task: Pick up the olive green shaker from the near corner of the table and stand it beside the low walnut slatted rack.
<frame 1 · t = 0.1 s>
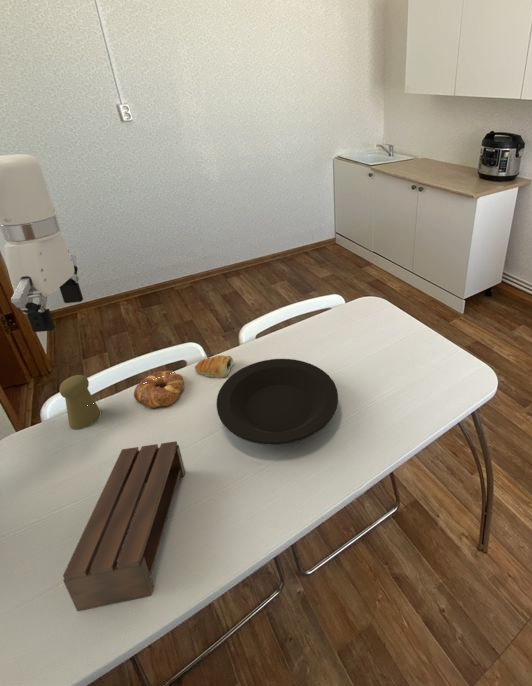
hand: (60, 315, 71), 31 cm above the table, tool pointing down, fingers open, 9 cm apart
rack: (139, 530, 65), on the table
plate: (279, 414, 88), on the table
pastry: (216, 371, 102), on the table
ring bread: (161, 394, 95), on the table
olive green shaker: (85, 419, 88), on the table
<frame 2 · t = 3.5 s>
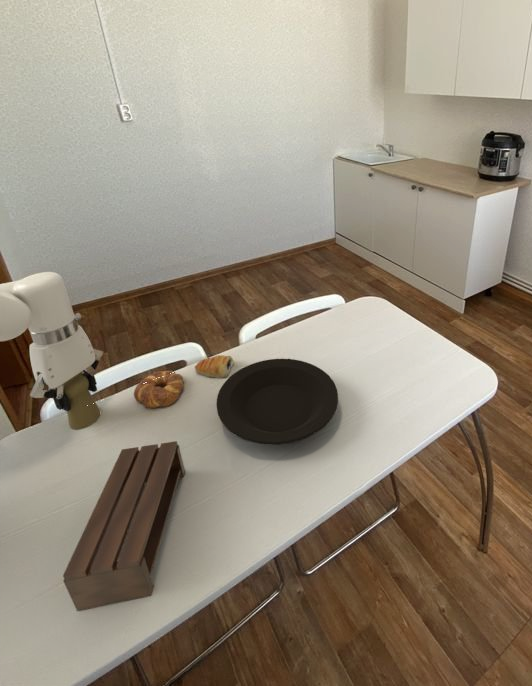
hand: (78, 398, 85), 6 cm above the table, tool pointing down, fingers closed on olive green shaker, 5 cm apart
olive green shaker: (85, 419, 88), on the table, touching gripper
everything else where it was.
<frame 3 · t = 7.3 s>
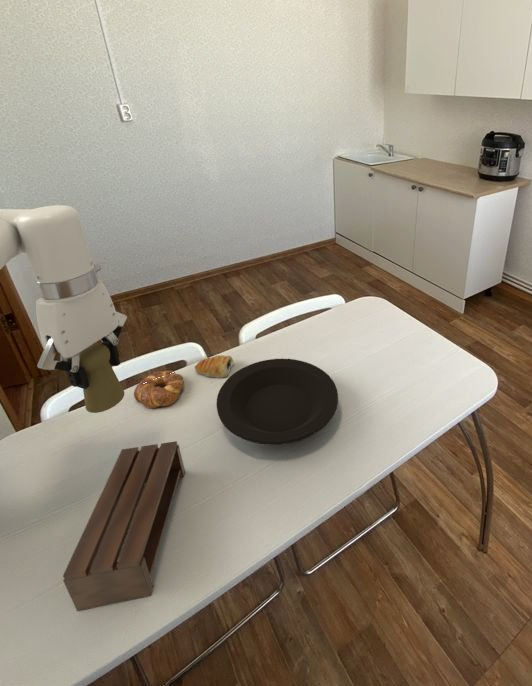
hand: (97, 373, 67), 23 cm above the table, tool pointing down, fingers closed on olive green shaker, 5 cm apart
olive green shaker: (105, 400, 69), point 17 cm above the table, touching gripper
everything else where it was.
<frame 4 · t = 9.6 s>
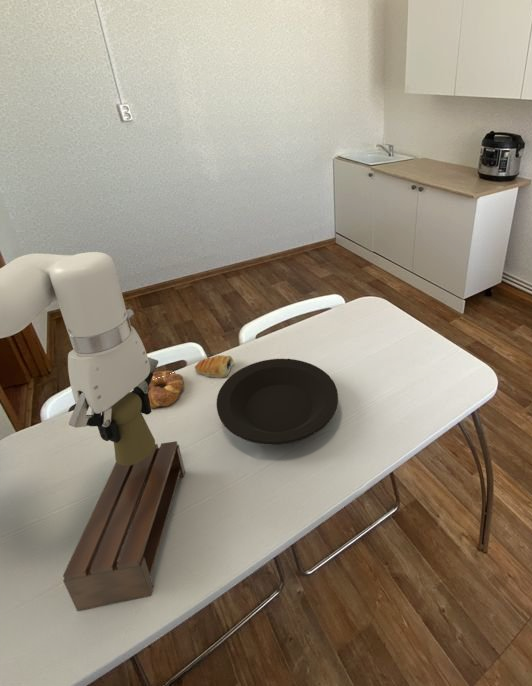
hand: (128, 424, 64), 18 cm above the table, tool pointing down, fingers closed on olive green shaker, 5 cm apart
olive green shaker: (136, 450, 66), point 12 cm above the table, touching gripper
everything else where it was.
when the fingers open (14 cm above the table, at t = 11.2 s): olive green shaker stays where it is, resting on rack.
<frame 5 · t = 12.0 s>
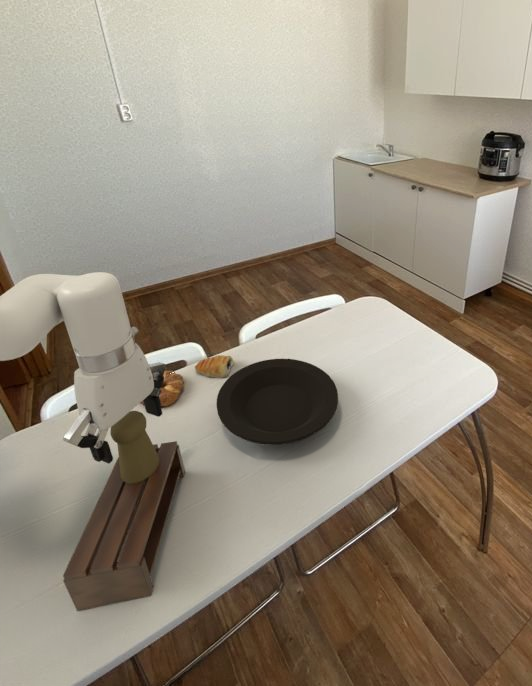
hand: (131, 435, 65), 15 cm above the table, tool pointing down, fingers open, 9 cm apart
olive green shaker: (140, 467, 67), point 8 cm above the table, touching rack
everything else where it was.
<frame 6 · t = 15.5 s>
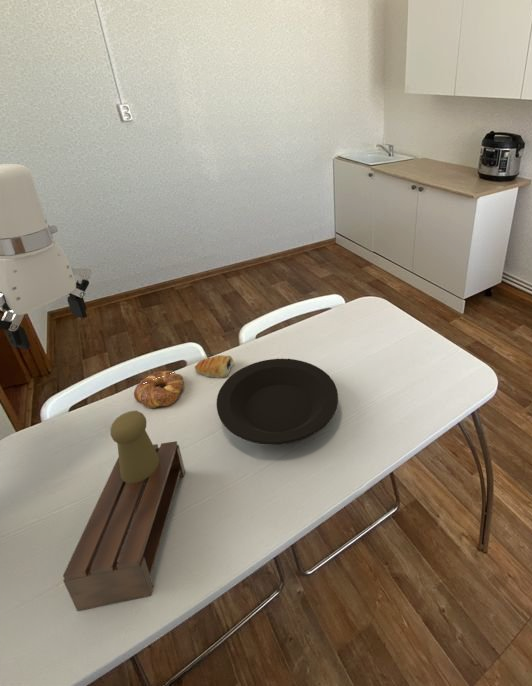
hand: (53, 330, 68), 30 cm above the table, tool pointing down, fingers open, 9 cm apart
nothing on the table moved.
at the end: olive green shaker inside the target area on the rack (0.1 cm from its centre), point 7.8 cm above the rack's base; olive green shaker tilted 0°; the gripper is holding nothing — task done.
